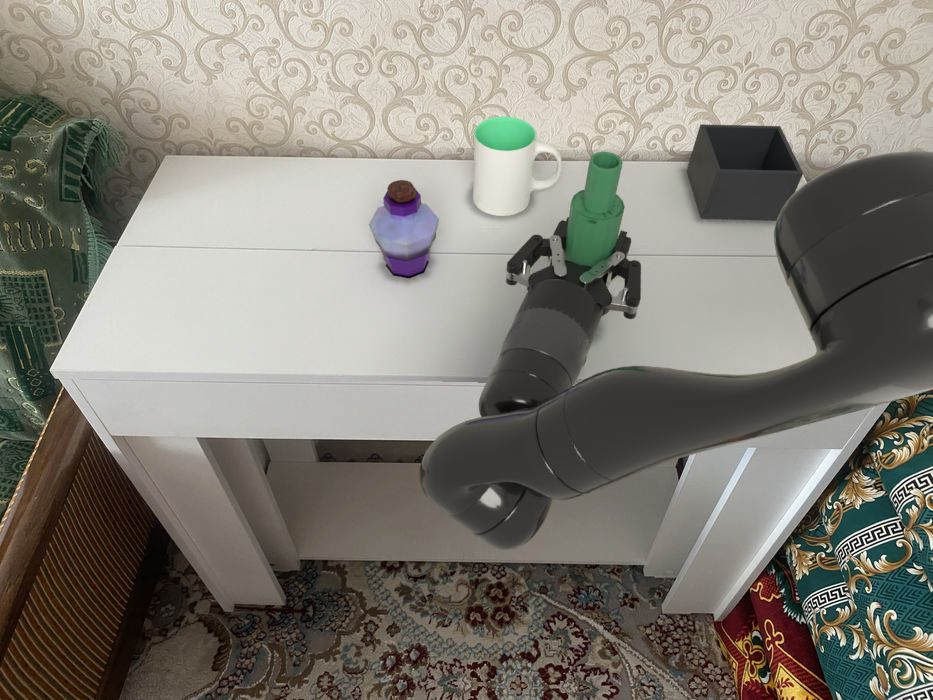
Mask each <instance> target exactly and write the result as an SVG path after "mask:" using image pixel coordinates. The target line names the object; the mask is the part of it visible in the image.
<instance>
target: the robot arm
mask: <svg viewBox="0 0 933 700" xmlns="http://www.w3.org/2000/svg"><path fill="white" fill-rule="evenodd" d="M568 219H569V216H567V217H566V220H563V219H562V220H560V221H559V222H558V224H557V225H556V228H555V230H554V232H553V233H552V235H550V236H549V237H548V238H547V237H546V238H544V237H543V236H542V235H540V234H538V233H537V234H532V235H531V236H530V238H528V240H527V241H526V242H525V243H524V244H523V245H522V246H521V247H520V248H519V249H518V250H517V252H515V254H513V256H511V257H510V259H509V260H508V261H507V262H506V270H505V271H506V272H505V283H506V284H507V285H508V286H516V285H517V284H520V285H522V286H525V287H526V293H525V296H524V298H523V299H522V301H521V304H520V306H519V308H518V310H517V312H516V314H515V317H514V318H513V320H512V323H511V325H510V327H509V328H508V331H507V332H506V334H505V337H504V339H503V342H502V345H501V349H500V352H499V354H498V358H497V359H496V362H495V364H494V366H493V368H492V370H491V372H490V374H489V376H488V378H487V380H486V383H485V384H484V386H483V388H482V390H481V393H480V396H479V400H478V412H479V415H480V417H479V416H478V417H476V418H472V419H468V420H465V421H462V422H460V423H458V424H456V425H454V426H452V427H450V428H448V429H447V430H445V431H444V432H442V433H441V434H439V436H437V437H436V438H435V439H434V441H432V443H430V445H429V446H428V447H427V449H426V451H425V453H424V454H423V456H422V458H421V463H420V466H419V473H418V474H419V483H420V487H421V490H422V492H423V494H424V495H425V497H426V498H427V499H428V500H429V501H430V502H431V503H432V505H434V506H435V507H437V508H438V509H439V510H441V511H442V512H443V513H445V514H446V515H447V516H448V517H450V518H451V519H453V520H454V521H455V522H456V523H458V524H459V525H460V526H462V527H463V528H464V529H466V530H467V531H468V532H469V533H471V534H472V535H473V536H475V537H476V538H477V539H479V540H480V541H481V542H483V543H484V544H486V545H487V546H489V547H491V548H493V549H495V550H499V551H505V552H506V551H513V550H516V549H518V548H520V547H522V546H524V545H525V544H527V543H529V542H530V540H532V539H533V538H534V537H535V536H536V535H537V534H538V532H539V531H540V530H541V528H542V527H543V525H544V523H545V522H546V520H547V517H548V515H549V513H550V510H551V506H552V502H553V500H556V501H569V500H574V499H578V498H581V497H583V496H586V495H589V494H590V493H593V492H595V491H599V490H600V489H603V488H605V487H608V486H611V485H612V484H615V483H618V482H620V481H622V480H624V479H627V478H629V477H632V476H634V475H636V474H639V473H642V472H644V471H646V470H648V469H651V468H654V467H657V466H660V465H662V464H666V463H669V462H672V461H675V460H679V459H681V458H685V457H688V456H692V455H695V454H699V453H702V452H703V453H704V452H708V451H711V450H715V449H720V448H723V447H727V446H732V445H736V444H740V443H744V442H747V441H748V442H749V441H752V440H757V439H760V438H764V437H768V436H771V435H776V434H779V433H782V432H786V431H790V430H793V429H798V428H801V427H804V426H807V425H811V424H815V423H818V422H823V421H826V420H829V419H833V418H836V417H840V416H845V415H847V414H852V413H855V412H860V411H864V410H866V409H870V408H873V407H874V408H875V407H877V406H880V405H884V404H888V403H892V402H894V401H899V400H903V399H906V398H909V397H913V396H915V395H919V394H923V393H926V392H928V391H931V390H933V151H928V150H927V151H925V150H909V151H908V150H907V151H893V152H887V153H881V154H875V155H870V156H867V157H864V158H859V159H857V160H852V161H849V162H846V163H844V164H840V165H838V166H836V167H834V168H831V169H829V170H826V171H825V172H822V173H821V174H819V175H816V176H815V177H814V178H812V179H810V180H808V181H807V182H806V183H805V184H804V185H802V186H801V187H800V188H798V189H796V191H795V193H794V194H793V195H792V196H791V197H790V198H789V199H788V200H787V202H786V203H785V204H784V206H783V207H782V209H781V211H780V213H779V215H778V217H777V219H776V221H775V224H774V230H773V243H774V250H775V254H776V258H777V262H778V266H779V268H780V270H781V273H782V275H783V278H784V280H785V283H786V285H787V286H788V288H789V291H790V293H791V295H792V298H793V299H794V302H795V305H796V306H797V309H798V310H799V313H800V315H801V317H802V319H803V321H804V324H805V326H806V329H807V330H808V332H809V335H810V336H811V340H812V341H813V343H814V346H815V350H816V352H815V353H814V355H812V356H810V357H808V358H806V359H802V360H801V361H798V362H795V363H793V364H790V365H786V366H784V367H781V368H777V369H776V368H775V369H772V370H767V371H763V372H757V373H747V374H744V373H743V374H731V373H730V374H727V373H710V372H700V371H691V370H684V369H677V368H671V367H662V366H652V365H651V366H650V365H626V366H619V367H614V368H610V369H607V370H603V371H600V372H597V373H595V374H593V375H591V376H588V377H586V378H585V379H583V380H581V381H578V382H577V379H578V377H579V376H580V374H581V371H582V369H583V367H584V366H585V365H586V362H587V359H588V357H587V356H588V354H589V351H590V348H591V345H592V343H593V340H594V337H595V335H596V332H597V330H598V327H599V325H600V321H601V319H602V318H603V317H604V316H605V315H606V314H608V313H609V312H610V311H614V312H623V317H624V318H625V319H628V320H634V319H635V318H636V317H637V314H638V310H639V306H640V302H641V299H642V297H641V296H642V295H641V294H642V263H641V262H640V261H639V260H636V259H633V260H629V259H628V258H627V257H628V254H629V252H630V248H631V244H632V237H629V236H628V231H625V230H621V229H620V230H619V234H618V239H617V242H616V245H615V247H614V249H613V253H612V255H611V256H610V257H609V258H607V259H606V260H604V259H602V260H601V261H600V262H599V263H598V264H596V265H595V266H594V267H590V266H585V265H578V264H576V263H574V262H572V261H568V260H565V258H564V245H565V239H566V232H567V226H568ZM541 257H547V266H546V267H543V268H542V269H541V268H540V269H539V270H536V271H535V272H533V273H531V269H532V267H533V266H535V264H536V263H537V262H538V261H539V260H540V259H541ZM619 277H620V278H622V279H623V280H624V284H623V285H624V287H623V289H622V290H620V291H618V294H617V296H613V295H612V294H611V292H610V290H609V287H610V285H611V284H612V283H613V282H614V281H615V280H617V279H618V278H619ZM576 382H577V383H576ZM575 383H576V384H575Z"/></svg>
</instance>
